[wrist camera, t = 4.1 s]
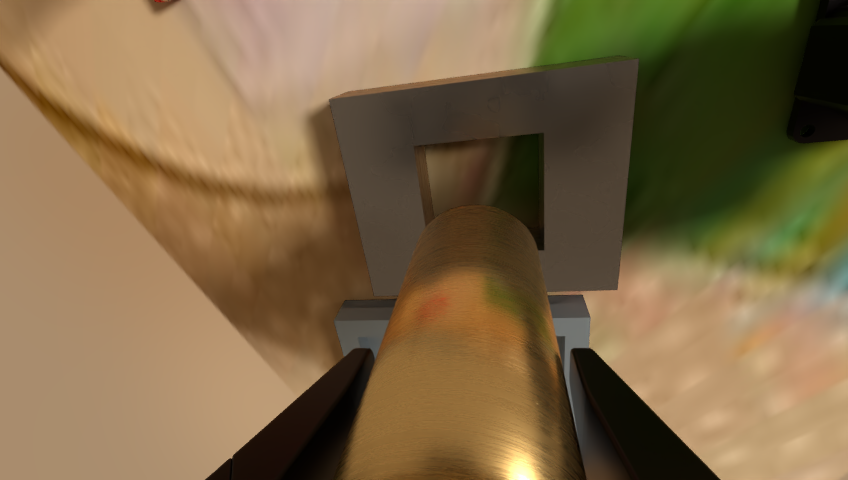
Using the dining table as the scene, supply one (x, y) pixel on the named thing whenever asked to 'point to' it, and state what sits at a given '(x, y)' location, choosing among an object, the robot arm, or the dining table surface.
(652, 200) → the dining table surface
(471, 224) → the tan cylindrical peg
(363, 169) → the block
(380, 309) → the tray
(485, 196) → the dining table surface
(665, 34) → the dining table surface
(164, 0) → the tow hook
